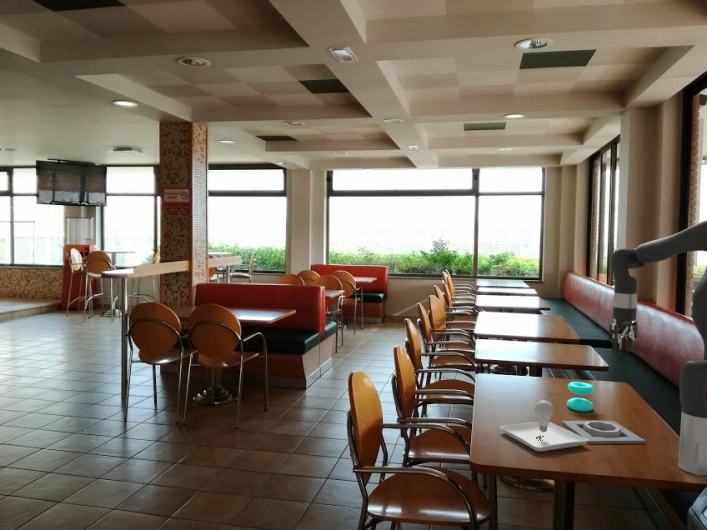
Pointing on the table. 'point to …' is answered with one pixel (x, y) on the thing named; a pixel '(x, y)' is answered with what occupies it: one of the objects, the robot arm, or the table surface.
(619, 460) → the table surface
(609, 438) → the bulb socket stand
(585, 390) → the donuts
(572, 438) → the salad plate
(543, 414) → the lightbulb
